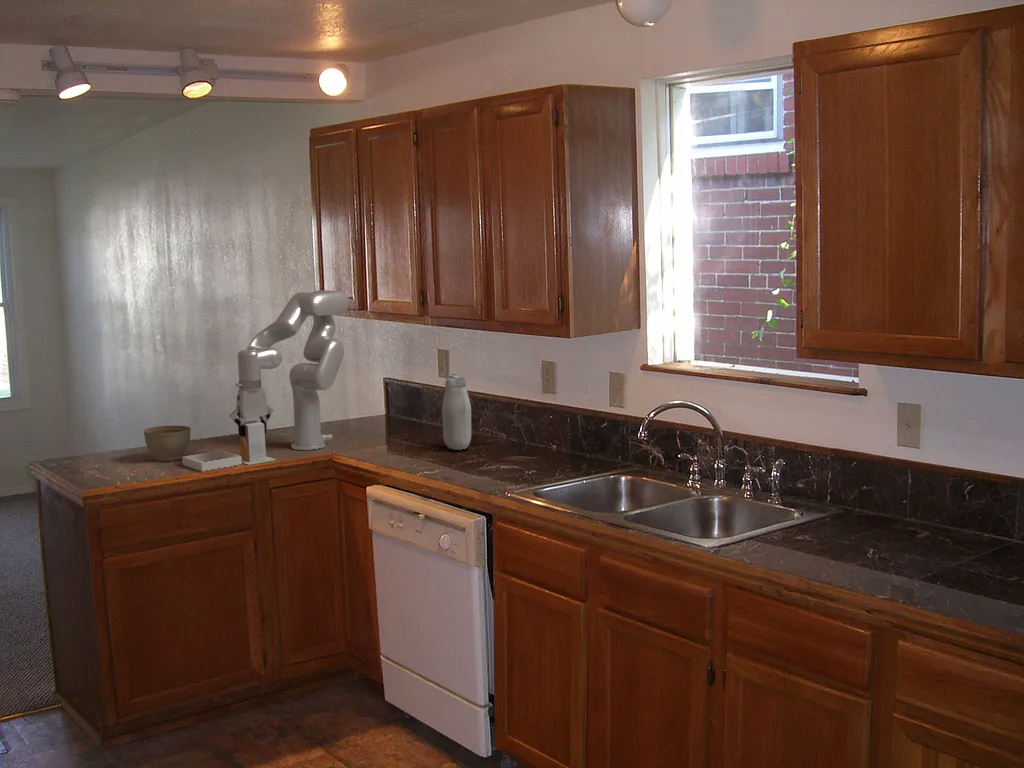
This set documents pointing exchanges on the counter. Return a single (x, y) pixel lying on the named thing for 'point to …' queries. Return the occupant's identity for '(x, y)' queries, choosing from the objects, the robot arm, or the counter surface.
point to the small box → (253, 442)
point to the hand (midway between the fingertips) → (252, 434)
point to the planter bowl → (167, 441)
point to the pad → (257, 461)
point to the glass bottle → (456, 413)
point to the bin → (199, 464)
